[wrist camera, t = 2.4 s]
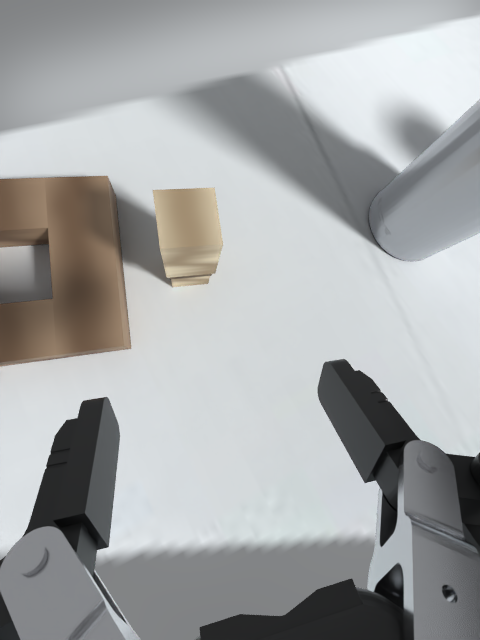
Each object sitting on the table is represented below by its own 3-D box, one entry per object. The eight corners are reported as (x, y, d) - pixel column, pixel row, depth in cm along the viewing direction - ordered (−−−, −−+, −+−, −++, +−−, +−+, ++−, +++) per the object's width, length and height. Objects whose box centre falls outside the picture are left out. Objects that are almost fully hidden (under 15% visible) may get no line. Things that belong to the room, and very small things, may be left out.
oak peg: (205, 247, 30) (214, 187, 20) (211, 286, 29) (223, 244, 19) (164, 250, 29) (152, 190, 19) (169, 290, 28) (159, 248, 19)
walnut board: (115, 195, 29) (107, 175, 26) (131, 348, 27) (124, 346, 24) (-78, 203, 26) (-112, 182, 23) (-78, 376, 24) (-115, 378, 21)
